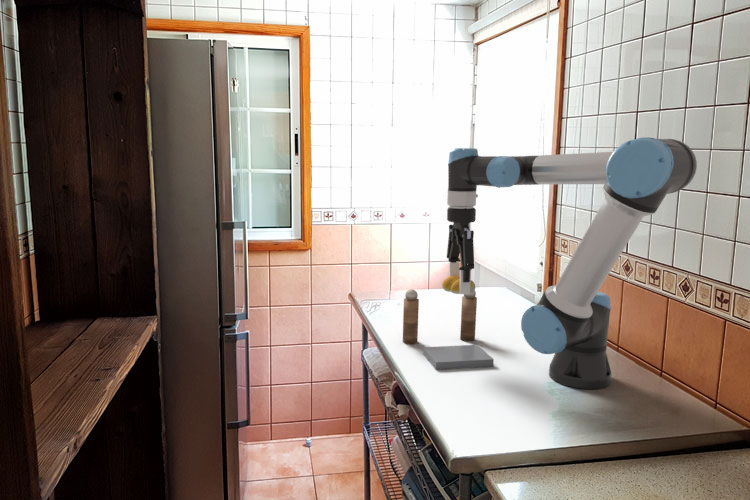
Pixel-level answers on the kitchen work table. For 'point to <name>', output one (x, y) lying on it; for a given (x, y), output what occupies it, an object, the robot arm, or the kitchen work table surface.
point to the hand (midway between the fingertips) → (458, 289)
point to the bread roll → (455, 284)
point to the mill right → (468, 317)
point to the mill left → (410, 317)
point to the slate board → (457, 357)
